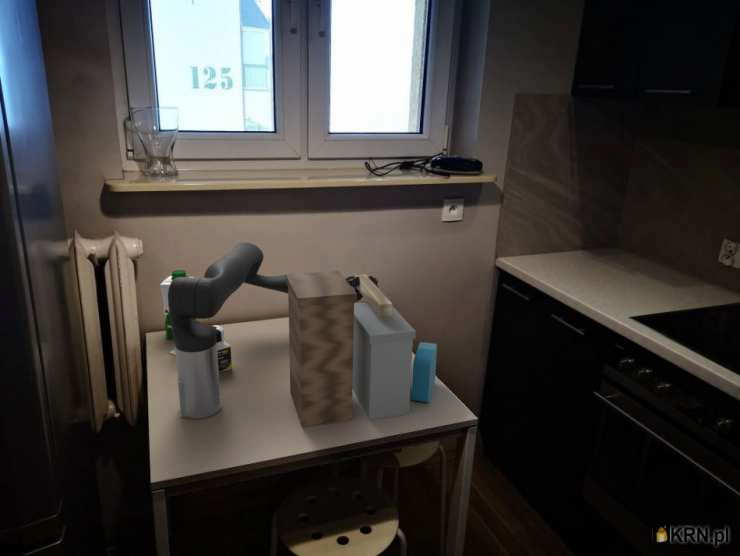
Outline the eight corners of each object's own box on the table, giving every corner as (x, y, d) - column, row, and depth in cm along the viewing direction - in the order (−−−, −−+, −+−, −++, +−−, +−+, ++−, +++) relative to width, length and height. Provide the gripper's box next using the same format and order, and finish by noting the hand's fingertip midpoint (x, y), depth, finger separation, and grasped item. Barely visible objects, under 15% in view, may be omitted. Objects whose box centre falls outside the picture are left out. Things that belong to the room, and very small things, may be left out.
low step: (367, 420, 133) (370, 335, 126) (345, 379, 151) (346, 303, 144) (410, 414, 136) (415, 331, 129) (384, 375, 155) (387, 300, 148)
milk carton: (200, 329, 180) (195, 270, 174) (190, 341, 172) (185, 279, 165) (173, 328, 180) (167, 269, 174) (162, 340, 172) (155, 278, 166)
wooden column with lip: (299, 428, 129) (297, 298, 119) (288, 392, 144) (285, 274, 134) (354, 420, 133) (356, 293, 123) (337, 386, 148) (338, 271, 138)
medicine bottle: (207, 376, 151) (204, 335, 147) (197, 366, 156) (193, 326, 153) (232, 368, 156) (230, 329, 152) (220, 359, 161) (218, 320, 157)
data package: (418, 380, 152) (420, 339, 149) (434, 382, 151) (437, 342, 148) (410, 402, 141) (413, 359, 138) (428, 405, 140) (431, 362, 137)
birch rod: (379, 316, 132) (380, 304, 131) (354, 285, 152) (354, 274, 151) (391, 315, 133) (392, 303, 132) (365, 284, 152) (365, 274, 151)
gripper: (373, 302, 165) (392, 292, 148) (327, 306, 160) (340, 296, 144) (370, 277, 166) (388, 264, 150) (324, 280, 162) (337, 267, 146)
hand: (364, 280), depth 147 cm, fingers closed on birch rod, 3 cm apart
